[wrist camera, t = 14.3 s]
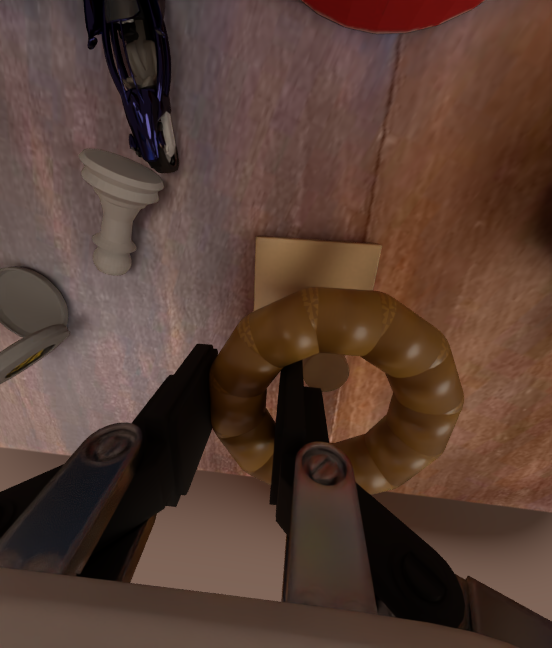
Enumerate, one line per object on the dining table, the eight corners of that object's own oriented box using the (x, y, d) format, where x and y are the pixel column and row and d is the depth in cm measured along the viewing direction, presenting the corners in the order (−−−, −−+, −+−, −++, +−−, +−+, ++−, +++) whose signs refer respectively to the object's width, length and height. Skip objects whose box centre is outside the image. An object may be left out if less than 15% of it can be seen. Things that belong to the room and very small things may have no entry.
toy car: (69, -67, 14) (-6, -161, 11) (181, -90, 14) (142, -196, 10) (133, 180, 19) (95, 172, 15) (219, 170, 18) (201, 160, 15)
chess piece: (129, 154, 19) (116, 252, 23) (58, 140, 15) (57, 261, 19) (180, 188, 18) (156, 282, 22) (119, 181, 14) (104, 297, 18)
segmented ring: (474, 291, 8) (524, 312, 7) (408, 474, 12) (429, 522, 10) (214, 272, 9) (192, 288, 7) (221, 455, 12) (207, 499, 10)
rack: (377, 243, 20) (469, 276, 9) (356, 349, 23) (405, 458, 13) (257, 235, 20) (218, 258, 10) (254, 341, 23) (223, 441, 13)
